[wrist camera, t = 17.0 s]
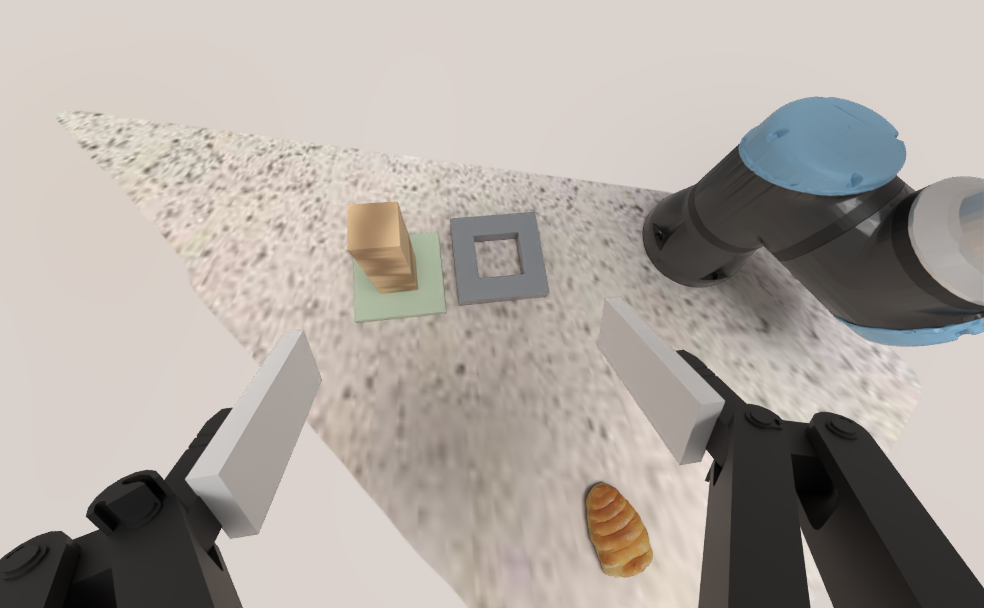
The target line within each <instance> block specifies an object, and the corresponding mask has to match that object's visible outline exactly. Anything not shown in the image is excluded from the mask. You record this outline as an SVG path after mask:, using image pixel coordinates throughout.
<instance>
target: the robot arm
mask: <svg viewBox="0 0 984 608" xmlns="http://www.w3.org/2000/svg"><path fill="white" fill-rule="evenodd" d="M897 136H898V131H897V130H896V129H895V128H894V127H893V126H892V125H891V124H890V123H889V122H888V121H887V120H886V119H885V118H883V117H882V116H880V115H879V114H878V113H876V112H874V111H873V110H871V109H869V108H867V107H865V106H863V105H860V104H857V103H855V102H851V101H848V100H845V99H840V98H834V97H829V98H823V97H809V98H804V99H800V100H796V101H793V102H790V103H788V104H786V105H784V106H782V107H781V108H779V109H778V110H776V111H775V112H774V113H772V114H771V115H770V116H769V117H768V118H767V119H766V120H764V121H763V122H762V123H761V124H760V125H759V126H757V127H755V128H753V129H752V130H750V131H749V132H748V133H747V134H746V135H745V136H744V137H743V138H742V140H741V142H740V144H739V145H738V146H736V148H734V149H733V150H732V151H731V152H730V153H729V154H728V155H727V156H726V157H725V158H724V159H722V160H721V161H720V163H718V164H717V165H716V166H715V167H714V168H713V169H712V170H711V171H709V173H707V174H706V175H705V176H704V177H703V178H702V179H701V180H700V181H699V182H698V183H697V184H695V185H693V186H691V187H688V188H686V189H684V190H681V191H679V192H677V193H674V194H672V195H670V196H668V197H666V198H665V199H663V200H662V201H661V202H660V203H659V204H658V205H657V206H656V207H655V208H654V209H653V210H652V211H651V212H650V214H649V215H648V217H647V219H646V221H645V224H644V229H643V240H644V245H645V248H646V251H647V253H648V255H649V257H650V259H651V260H652V262H653V263H654V265H655V266H656V267H657V268H658V269H659V270H660V271H661V272H662V273H663V274H664V275H666V276H667V277H669V278H670V279H672V280H674V281H676V282H678V283H680V284H683V285H686V286H691V287H708V286H712V285H715V284H717V283H719V282H721V281H724V280H726V279H728V278H729V277H731V276H732V275H734V274H735V273H736V272H737V271H738V270H739V269H740V268H741V267H742V266H743V264H744V263H745V262H746V261H747V260H748V259H749V257H750V256H751V255H752V254H753V253H754V252H755V250H756V249H758V248H760V247H762V246H764V247H765V248H766V249H767V250H768V251H769V252H771V253H772V254H773V255H774V256H775V257H776V258H777V259H778V260H779V261H780V262H781V263H782V264H783V265H784V266H785V267H786V268H787V269H788V270H789V271H790V272H791V273H792V274H793V275H794V276H795V277H796V278H797V279H798V280H799V281H800V282H801V283H802V284H803V285H804V286H805V287H806V288H807V289H808V290H809V291H810V292H811V293H812V294H813V295H814V296H815V297H816V298H817V299H818V300H819V301H820V302H821V303H822V304H823V305H824V306H825V307H826V308H827V309H828V310H829V312H830V313H831V314H833V316H834V317H835V318H836V319H837V320H839V321H840V322H842V323H844V324H846V325H847V326H848V327H849V328H850V329H852V330H853V331H854V332H855V333H856V334H858V335H859V336H861V337H863V338H864V339H867V340H869V341H872V342H875V343H879V344H883V345H890V346H925V345H933V344H940V343H946V342H950V341H954V340H957V339H958V337H959V336H961V335H963V334H972V335H976V334H979V333H982V332H984V179H981V178H976V177H952V178H948V179H944V180H941V181H939V182H936V183H934V184H932V185H929V186H927V187H925V188H923V189H920V190H918V191H915V190H914V189H912V188H911V187H910V186H908V185H907V184H906V183H905V182H903V181H902V180H901V179H900V178H899V177H898V176H897V173H898V172H899V171H900V170H901V168H902V167H903V165H904V163H905V160H906V149H905V145H904V142H903V141H900V140H898V139H896V137H897ZM598 348H599V349H600V351H601V352H602V353H603V355H604V356H605V358H606V359H607V361H608V362H609V364H610V365H611V367H612V368H613V369H614V371H615V372H616V374H617V375H618V377H619V378H620V380H621V381H622V382H623V384H624V385H625V387H626V388H627V390H628V391H629V393H630V394H631V395H632V397H633V398H634V400H635V401H636V403H637V404H638V406H639V407H640V409H641V410H642V411H643V413H644V414H645V416H646V417H647V419H648V420H649V422H650V423H651V424H652V426H653V427H654V429H655V430H656V432H657V433H658V435H659V436H660V437H661V439H662V440H663V442H664V443H665V445H666V446H667V448H668V449H669V450H670V452H671V453H672V455H673V456H674V458H675V459H676V461H677V462H678V464H679V465H683V464H690V463H696V462H701V460H702V458H703V455H704V453H705V450H707V451H708V452H709V453H710V455H711V456H712V457H713V458H714V460H713V463H712V465H711V467H710V470H709V472H708V474H707V477H706V479H705V481H707V482H709V481H710V484H709V495H708V506H707V517H706V528H705V539H704V551H703V562H702V573H701V584H700V595H699V606H698V608H810V600H809V592H808V585H807V577H806V569H805V561H804V554H803V546H802V538H801V530H802V532H803V534H804V537H805V539H806V542H807V544H808V546H809V549H810V551H811V554H812V556H813V559H814V561H815V563H816V566H817V568H818V571H819V573H820V575H821V578H822V580H823V583H824V585H825V588H826V590H827V592H828V595H829V597H830V600H831V602H832V604H833V607H834V608H984V588H983V586H982V585H981V584H980V582H979V581H978V580H977V578H976V577H975V576H974V574H973V573H972V572H971V570H970V569H969V567H968V566H967V565H966V563H965V562H964V561H963V559H962V558H961V557H960V555H959V554H958V553H957V551H956V550H955V549H954V547H953V546H952V544H951V543H950V542H949V540H948V539H947V538H946V536H945V535H944V534H943V532H942V531H941V529H940V528H939V527H938V526H937V524H936V523H935V521H934V520H933V519H932V517H931V516H930V515H929V513H928V512H927V511H926V509H925V508H924V507H923V505H922V504H921V502H920V501H919V500H918V499H917V497H916V496H915V495H914V493H913V492H912V490H911V489H910V487H909V486H908V485H907V484H906V482H905V481H904V479H903V478H902V477H901V475H900V474H899V473H898V471H897V470H896V469H895V467H894V466H893V465H892V463H891V462H890V460H889V459H888V458H887V456H886V455H885V454H884V452H883V451H882V450H881V448H880V447H879V446H878V444H877V443H876V441H875V440H874V439H873V437H872V436H871V435H870V434H869V433H868V432H867V431H866V430H865V429H864V428H863V427H862V426H860V425H859V424H857V423H856V422H854V421H853V420H851V419H849V418H846V417H844V416H842V415H838V414H834V413H830V412H819V413H816V414H815V415H814V416H813V418H812V419H811V421H810V423H802V422H793V421H785V420H782V419H781V418H780V417H779V416H778V415H776V414H775V413H773V412H772V411H770V410H768V409H766V408H763V407H761V406H758V405H753V404H746V403H745V402H744V401H743V400H742V399H741V398H740V397H739V396H738V395H737V394H736V393H735V392H733V391H732V390H731V389H730V388H729V387H728V386H727V385H726V384H725V383H724V382H723V381H722V380H721V379H720V378H719V377H718V376H715V374H714V373H713V372H712V371H711V370H710V369H708V368H707V366H706V365H705V364H704V363H703V362H702V361H701V360H699V359H698V358H697V357H696V356H694V355H692V354H690V353H688V352H687V351H685V350H679V351H675V350H674V349H673V348H672V347H671V346H670V345H669V344H668V343H667V342H666V341H665V340H664V339H663V338H662V337H661V336H660V335H659V334H658V333H657V332H656V331H655V330H654V329H653V328H652V327H651V326H650V325H649V324H648V323H647V322H646V321H645V320H644V319H643V318H642V317H641V316H640V315H639V314H638V313H637V312H636V311H635V310H634V309H633V308H632V307H631V306H630V305H629V304H628V303H627V302H626V301H625V300H624V299H623V298H622V297H621V296H619V297H609V298H605V300H604V307H603V314H602V321H601V328H600V335H599V342H598ZM321 381H322V379H321V376H320V373H319V371H318V368H317V365H316V362H315V360H314V357H313V354H312V351H311V349H310V346H309V343H308V340H307V338H306V335H305V332H304V330H297V331H287V332H284V333H283V334H282V336H281V337H280V339H279V340H278V342H277V343H276V345H275V346H274V348H273V349H272V351H271V352H270V354H269V355H268V357H267V358H266V360H265V361H264V363H263V364H262V366H261V367H260V369H259V370H258V372H257V373H256V375H255V376H254V377H253V379H252V381H251V382H250V383H249V385H248V387H247V388H246V389H245V391H244V392H243V394H242V396H241V397H240V398H239V400H238V401H237V403H236V404H235V406H234V407H233V408H226V409H221V410H220V411H219V412H218V413H217V414H215V415H214V416H213V417H212V418H211V419H210V420H208V421H207V422H206V423H205V425H204V426H203V428H202V429H201V430H200V432H199V433H198V435H197V438H195V439H194V440H193V442H192V443H191V444H190V445H189V449H187V450H186V451H185V452H184V454H183V455H182V456H181V458H180V459H179V461H178V462H177V463H176V465H175V466H174V467H173V469H172V470H171V472H170V473H169V474H168V476H167V477H166V479H165V480H163V478H162V477H161V476H160V475H159V474H158V473H157V472H156V471H153V470H144V471H140V472H135V473H133V474H131V475H128V476H126V477H124V478H121V479H120V480H118V481H117V482H115V483H113V484H112V485H110V486H109V487H107V488H106V489H105V490H104V491H103V492H102V493H100V494H99V495H98V496H97V497H96V498H95V500H94V501H93V502H92V503H91V505H90V506H89V507H88V511H87V514H86V517H87V518H88V519H89V520H90V521H91V522H92V523H93V524H94V525H95V526H97V527H98V528H99V530H97V531H94V532H91V533H89V534H87V535H84V536H81V537H79V538H76V539H73V540H72V539H71V538H70V537H69V536H67V535H66V534H65V533H63V532H62V531H51V532H48V533H45V534H42V535H39V536H36V537H34V538H32V539H30V540H28V541H27V542H25V543H23V544H21V545H19V546H18V547H16V548H15V549H13V550H12V551H11V552H9V553H8V554H6V555H5V556H4V557H2V558H1V559H0V608H243V607H242V605H241V602H240V600H239V597H238V595H237V592H236V590H235V587H234V585H233V582H232V580H231V577H230V575H229V572H228V570H227V567H226V565H225V562H224V560H223V557H222V555H221V552H220V550H219V548H218V546H217V545H216V544H215V543H214V542H215V540H216V538H217V536H218V534H219V532H220V530H221V528H222V529H223V530H224V531H225V533H226V534H227V535H228V536H229V538H230V539H232V538H238V537H244V536H251V535H257V534H259V532H260V529H261V527H262V524H263V522H264V520H265V517H266V515H267V512H268V510H269V507H270V505H271V503H272V500H273V498H274V495H275V493H276V490H277V488H278V486H279V483H280V481H281V478H282V476H283V474H284V471H285V468H286V466H287V464H288V461H289V459H290V457H291V454H292V452H293V449H294V447H295V444H296V442H297V440H298V437H299V435H300V432H301V430H302V427H303V425H304V423H305V420H306V418H307V415H308V413H309V411H310V408H311V406H312V403H313V401H314V398H315V396H316V394H317V391H318V389H319V386H320V384H321ZM800 527H801V530H800Z"/></svg>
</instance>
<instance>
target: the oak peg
mask: <svg viewBox="0 0 984 608" xmlns="http://www.w3.org/2000/svg"><path fill="white" fill-rule="evenodd" d="M347 227H348V251H349V252H350V254H351V255H352V256H353V258H354V259H355V260H356V262H357V263H358V264H359V266H360V267H361V268H362V269H363V271H364V272H365V273H366V275H367V276H368V277H369V279H370V280H371V281H372V283H373V284H374V285H375V287H376V288H377V289H378V290H379V292H380V293H381V294H383V293H394V292H404V291H415V290H418V281H417V267H416V256H415V253H414V250H413V247H412V244H411V241H410V238H409V235H408V232H407V229H406V226H405V223H404V220H403V217H402V214H401V211H400V208H399V205H398V202H384V203H369V204H354V205H347Z"/></svg>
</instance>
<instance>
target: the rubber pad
mask: <svg viewBox="0 0 984 608" xmlns="http://www.w3.org/2000/svg"><path fill="white" fill-rule="evenodd" d="M408 235H409V238H410V241H411V244H412V247H413V250H414V253H415V256H416V267H417V281H418V290H415V291H404V292H394V293H383V294H381V293H380V292H379V290H378V289H377V288H376V287H375V285H374V284H373V283H372V281H371V280H370V279H369V277H368V276H367V275H366V273H365V272H364V271H363V269H362V268H361V267H360V266H359V264H358V263H357V262H356V260H355V259H354V258H353V271H354V310H355V322H357V323H359V322H369V321H378V320H388V319H397V318H407V317H416V316H426V315H435V314H445V313H446V306H445V296H444V285H443V275H442V265H441V255H440V244H439V234H438V232H430V233H418V234H408Z"/></svg>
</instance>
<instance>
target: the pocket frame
mask: <svg viewBox="0 0 984 608" xmlns="http://www.w3.org/2000/svg"><path fill="white" fill-rule="evenodd" d="M450 224H451V233H452V243H453V252H454V261H455V270H456V279H457V289H458V298H459V306H460V305H470V304H479V303H489V302H498V301H508V300H518V299H527V298H537V297H546V296H547V295H548V293H549V287H548V282H547V276H546V271H545V265H544V260H543V254H542V249H541V243H540V238H539V232H538V227H537V221H536V216H535V212H530V213H517V214H504V215H491V216H478V217H465V218H452V219H450ZM515 238H516V241H517V248H518V254H519V260H520V266H521V272H522V274H521V275H510V276H500V277H489V278H479V277H478V269H477V261H476V254H475V246H474V242H479V241H491V240H503V239H515Z"/></svg>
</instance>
